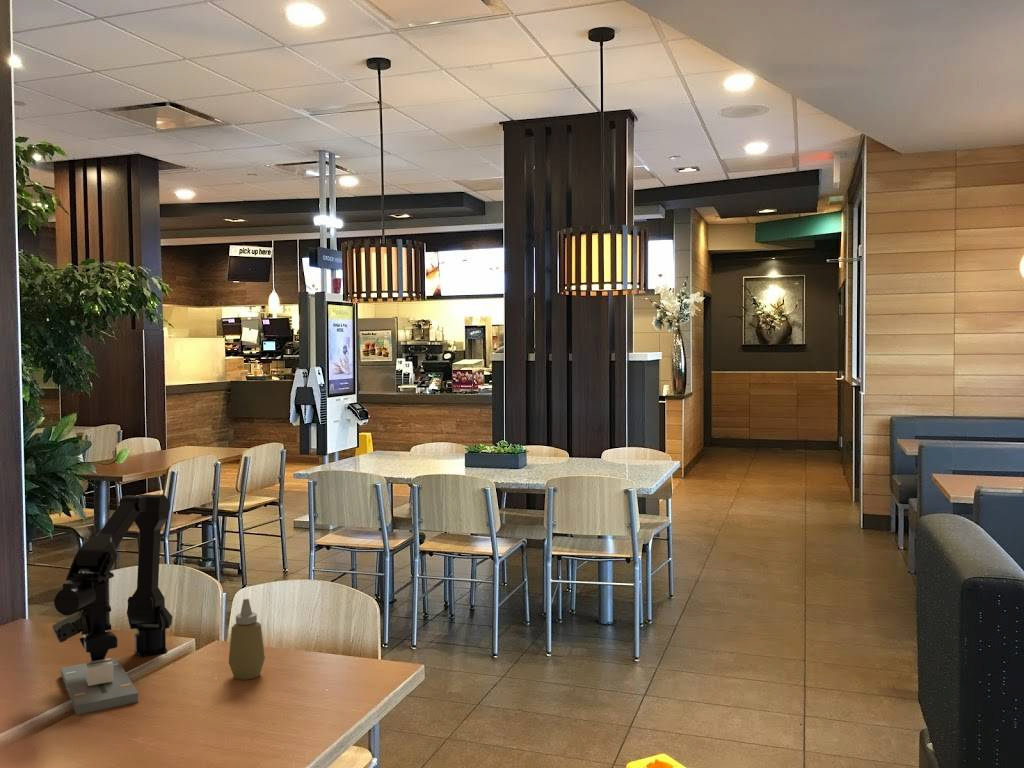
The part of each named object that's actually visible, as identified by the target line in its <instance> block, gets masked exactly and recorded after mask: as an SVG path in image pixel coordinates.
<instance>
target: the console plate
mask: <svg viewBox="0 0 1024 768" xmlns="http://www.w3.org/2000/svg"><path fill="white" fill-rule="evenodd" d="M110 659H111V660H112V662H113V681H112V682H106V683H101V684H96V685H91V686H88V684H87V682H86V665H85V663H80V664H74V665H70V666H63V667H60V677H61V676H62V678H63V680H62V682H63V681H64V683H65V685H64V687H65V686H66V688H67V690H66V692H67V691H68V693H69V695H68V697H69V696H70V698H71V700H70V702H71V701H72V703H71V705H72V707H73V711H74V713H75V716H79V715H84V714H89V713H93V712H97V711H101V710H102V711H103V710H106V709H107V710H108V709H111V708H112V709H113V708H115V707H121V706H122V707H123V706H126V705H130V704H136V703H139V691H138V690H137V688H136V687H135V684H134V683H133V681H132V680H131V678H130V677H129V676H128V674H127V672H126V671H125V669H124V667H123V666H122V663H121V662H120V660H119V659H118V658H117V657H114V658H110ZM62 678H61V679H62ZM64 683H63V684H64ZM66 688H65V689H66ZM68 693H67V694H68ZM70 698H69V699H70Z"/></svg>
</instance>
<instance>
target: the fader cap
mask: <svg viewBox="0 0 1024 768" xmlns="http://www.w3.org/2000/svg"><path fill="white" fill-rule="evenodd" d="M111 659H112V658H111V657H108V658H105V659H102V660H96V661H91V660H90V661H86V662H85V665H86V682H87V684H88V686H91V685H96V684H101V683H106V682H112V681H113V662H112V660H111Z"/></svg>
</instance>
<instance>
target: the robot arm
mask: <svg viewBox="0 0 1024 768" xmlns="http://www.w3.org/2000/svg"><path fill="white" fill-rule="evenodd" d="M170 510H171V500H170V499H168V498H167V495H166V494H154V493H153V494H152V493H151V494H148V493H147V494H146V493H145V494H144V493H143V494H138V495H125V496H122V497H121V498H120V500H119V503H118V506H117V508H116V509H115V510H114V511H113V513H112V514H111V516H110V517H109V519H108V520H107V521H106V523H105V525H104V526H103V528H102V529H101V530H100V531H99V533H98V534H97V535H96V536H95V537H93V538H90V539H89V540H87V541H85V543H84V544H82V546H80V547H79V548H78V550H77V552H76V553H75V555H74V558H73V560H72V562H71V565H70V568H69V569H68V573H67V576H66V582H64V583H63V584H62V589H61V590H59V591H58V592H57V593H56V595H55V597H54V599H53V600H54V601H53V604H54V607H55V609H56V611H57V612H58V613H59V614H61V615H63V616H69V617H66V618H65V619H63V620H60V621H58V622H55V623H54V624H53V625H52V626H51V627H52V630H53V632H54V634H55V636H56V638H57V640H58V643H63V642H66V641H67V640H68V639H70V638H72V637H73V636H76V635H78V634H80V633H81V635H82V636H83V637H79V641H80V643H81V646H82V648H83V649H84V650H85V653H88V654H89V657H90V658H89V659H90V662H91V661H96V660H102V659H106V657H107V654H108V652H109V650H112V649H117V648H118V637H117V636H116V634H114V632H112V631H111V630H112V624H111V621H110V620H111V619H110V612H112V607H111V605H110V579H112V578H114V576H115V574H114V573H113V572H111V570H112V568H113V566H114V564H115V561H116V560H117V558H118V550H117V548H118V547H119V544H120V543H121V542H122V540H123V539H124V537H125V535H126V534H127V533H128V531H129V529H130V528H131V527H132V526H133V524H134V523H135V525H136V527H137V529H138V530H139V536H138V539H139V540H138V559H137V561H138V562H137V578H136V580H137V581H136V583H137V584H136V590H135V591H134V593H133V594H132V595H131V596H128V598H127V608H126V610H127V611H126V615H127V621H128V624H129V628H130V630H136V633H135V634H134V639H133V640H134V651H135V652H136V653H137V654H138V656H139V655H140V656H143V657H145V656H144V655H148V656H152V655H151V654H154V655H156V654H155V653H159V654H161V653H160V652H164V653H167V652H168V648H166V646H167V642H166V629H167V630H168V629H170V627H171V625H172V622H173V614H171V612H169V610H168V608H166V604H165V603H166V602H165V596H164V594H163V593H162V591H161V589H160V588H159V577H160V555H161V554H160V553H161V551H160V549H161V532H162V528H163V527H164V525H165V524H166V522H167V521H168V520H169V514H170ZM166 651H167V652H166ZM140 656H139V657H140Z"/></svg>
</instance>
